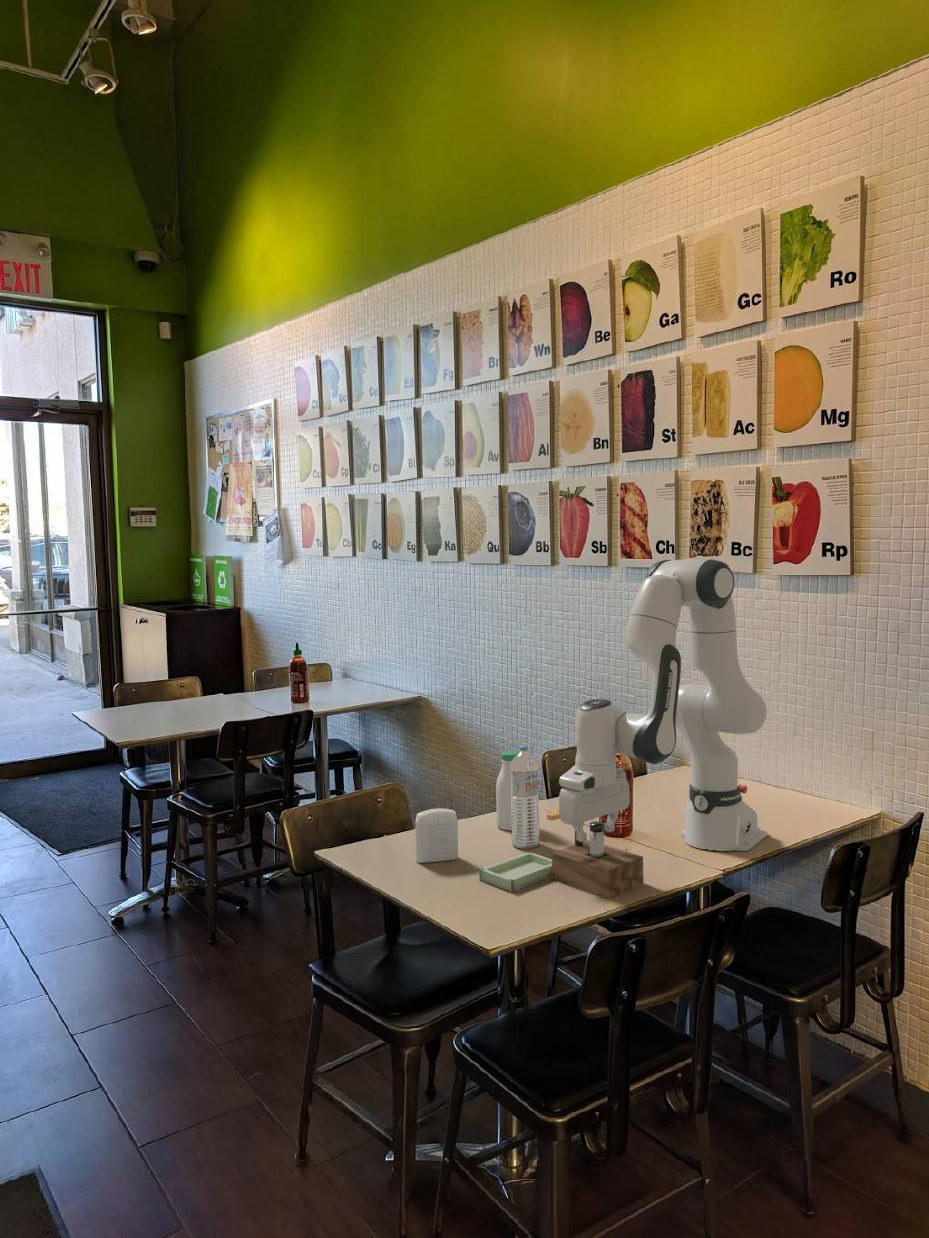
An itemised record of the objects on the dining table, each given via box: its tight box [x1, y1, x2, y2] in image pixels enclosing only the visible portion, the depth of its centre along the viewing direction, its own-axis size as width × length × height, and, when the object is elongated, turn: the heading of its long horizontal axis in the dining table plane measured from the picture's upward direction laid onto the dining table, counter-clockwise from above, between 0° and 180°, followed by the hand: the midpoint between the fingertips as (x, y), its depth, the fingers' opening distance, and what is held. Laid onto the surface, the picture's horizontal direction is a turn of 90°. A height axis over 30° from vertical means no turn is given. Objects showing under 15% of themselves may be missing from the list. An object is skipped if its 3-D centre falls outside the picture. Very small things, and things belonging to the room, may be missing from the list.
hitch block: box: [551, 826, 644, 899], centre depth 202 cm, size 12×16×14 cm
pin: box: [589, 821, 605, 859], centre depth 202 cm, size 3×3×13 cm
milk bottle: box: [495, 750, 519, 832], centre depth 241 cm, size 8×8×20 cm
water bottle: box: [510, 745, 540, 850], centre depth 226 cm, size 7×7×25 cm
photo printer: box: [414, 807, 459, 864], centre depth 218 cm, size 10×4×12 cm, turn 104°
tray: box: [478, 851, 552, 893], centre depth 206 cm, size 16×10×2 cm, turn 132°
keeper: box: [546, 810, 560, 821], centre depth 205 cm, size 10×2×1 cm, turn 128°
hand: (595, 835), depth 201 cm, fingers open, 8 cm apart
